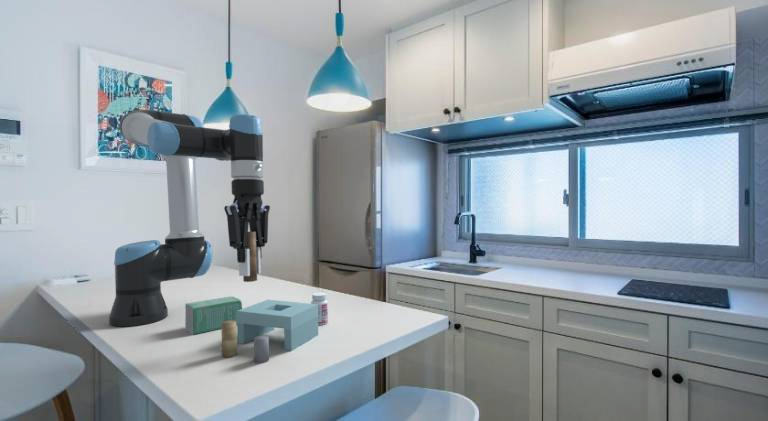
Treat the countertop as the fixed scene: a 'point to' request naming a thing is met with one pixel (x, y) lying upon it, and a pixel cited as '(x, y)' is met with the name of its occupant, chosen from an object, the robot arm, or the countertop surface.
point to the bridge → (279, 321)
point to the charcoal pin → (261, 349)
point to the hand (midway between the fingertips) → (250, 274)
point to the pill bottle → (321, 307)
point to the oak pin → (229, 339)
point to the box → (211, 314)
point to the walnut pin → (251, 257)
